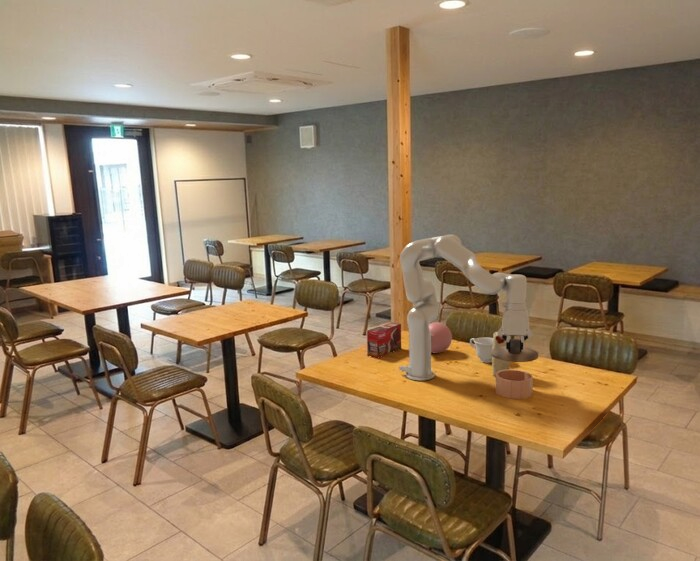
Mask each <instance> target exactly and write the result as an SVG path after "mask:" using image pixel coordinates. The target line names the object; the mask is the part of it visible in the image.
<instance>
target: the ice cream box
mask: <svg viewBox="0 0 700 561" xmlns="http://www.w3.org/2000/svg"><path fill="white" fill-rule="evenodd" d="M398 349H400V350H402V323H398V322H394V321H391V322H390V321H389V322H388V323H384V324H381V325H378V326H376V327H371V328H369V329H367V330H366V356H367V357H369V356H371V357H370V358H373V357H375V358H374V359H379V358H382V357H385V356H387V355H390V354H391V352H392V353H394V352H393V351H395V352H397V351H399V350H398ZM396 350H397V351H396ZM389 353H390V354H389ZM386 354H387V355H386ZM384 355H385V356H384ZM381 356H382V357H381ZM378 357H379V358H378Z"/></svg>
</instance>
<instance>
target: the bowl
mask: <svg viewBox="0 0 700 561" xmlns="http://www.w3.org/2000/svg"><path fill="white" fill-rule="evenodd" d="M533 382H534V377H533V374H532V373H530V372H527V371H523V370H520V369H509V370H501V371H498V372H497V373H496V376H495V383H494V384H495V388H494V390H495V394H496V395H499V396H501V397H503V398H507V399H514V400H516V399H517V400H522V399H527V398H530V397H531V396H532V395H533V389H534V384H533Z"/></svg>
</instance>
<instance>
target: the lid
mask: <svg viewBox="0 0 700 561" xmlns="http://www.w3.org/2000/svg"><path fill="white" fill-rule="evenodd" d="M491 355H492V356H493V357H495V358H497V359H500V360H504V361H510V363H511V362H512V363H528V362H533V361H535V360H538V358H539V352H538V351H536V350H534V349H533V348H530V347H525V346H523V350H522V352H520V338H511V339H510V352H508V349H506V346H501V347H496V348H494V349H492V350H491Z"/></svg>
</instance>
